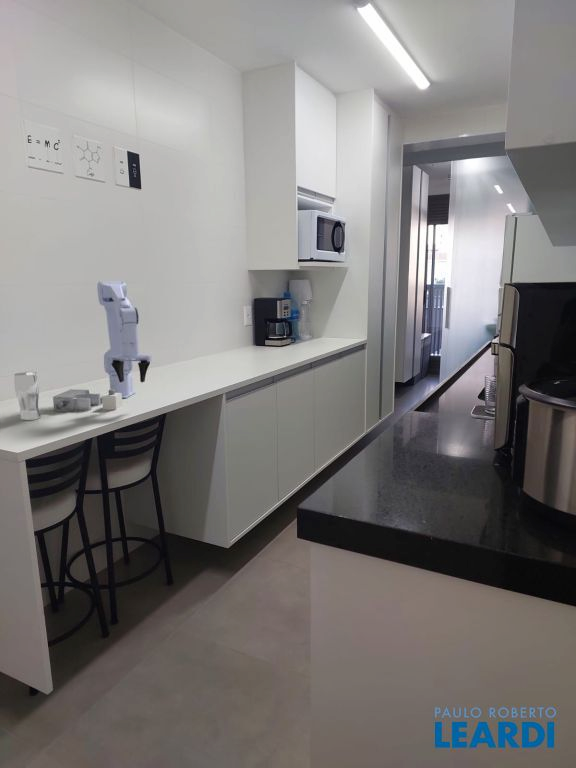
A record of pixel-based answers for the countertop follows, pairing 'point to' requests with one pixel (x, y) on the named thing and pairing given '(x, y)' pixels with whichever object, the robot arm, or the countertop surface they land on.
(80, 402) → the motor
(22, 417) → the beer glass
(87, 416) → the countertop surface
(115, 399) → the white block
